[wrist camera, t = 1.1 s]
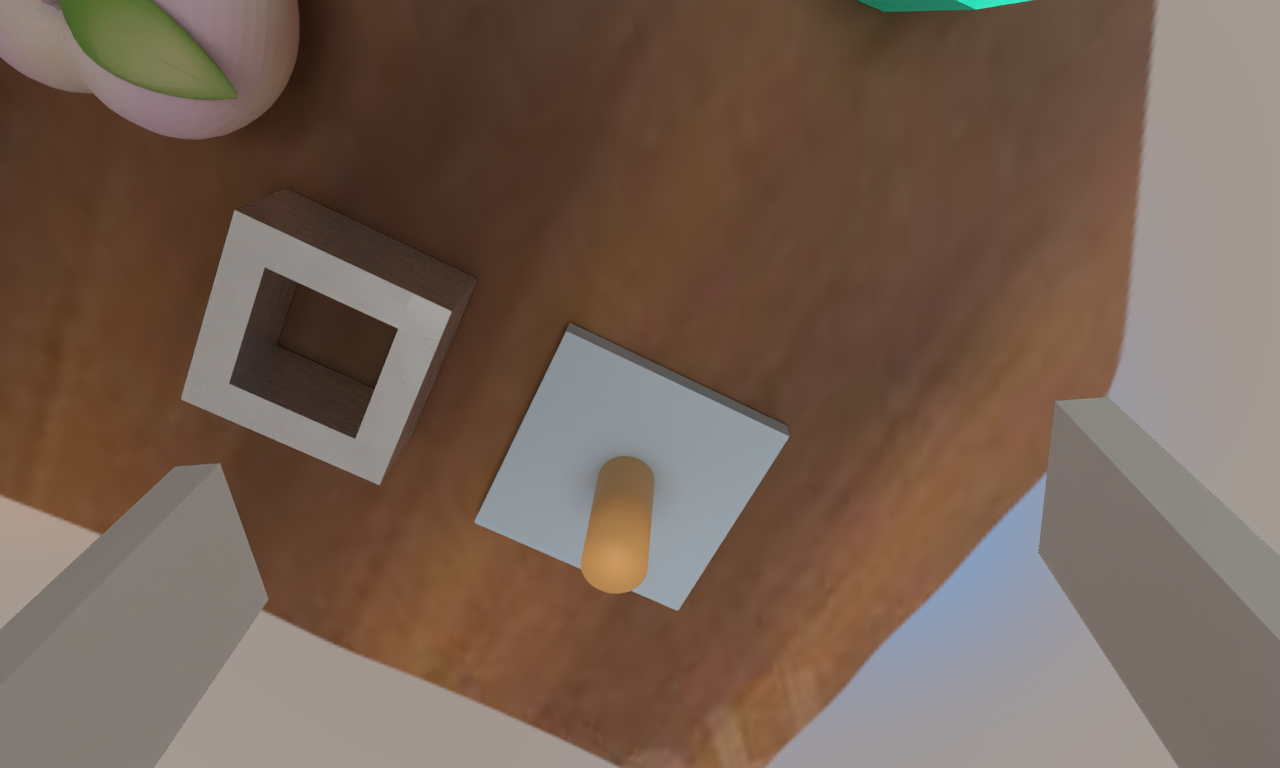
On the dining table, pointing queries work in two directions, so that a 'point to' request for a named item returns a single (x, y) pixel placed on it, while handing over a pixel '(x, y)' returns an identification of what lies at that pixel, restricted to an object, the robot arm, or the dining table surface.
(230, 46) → the decorative fruit
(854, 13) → the dining table surface
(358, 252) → the gray square frame
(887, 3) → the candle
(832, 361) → the dining table surface
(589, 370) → the keeper
